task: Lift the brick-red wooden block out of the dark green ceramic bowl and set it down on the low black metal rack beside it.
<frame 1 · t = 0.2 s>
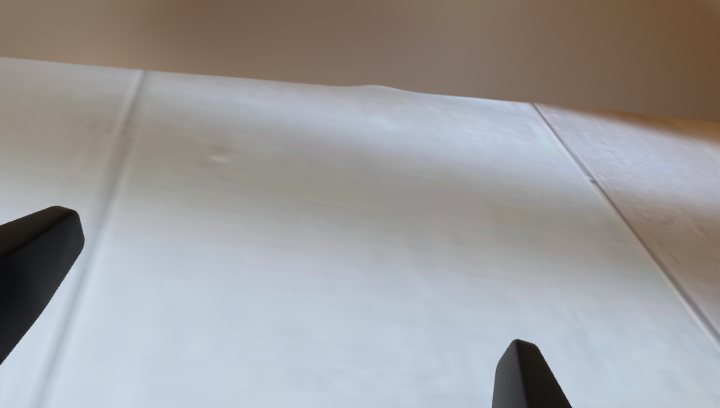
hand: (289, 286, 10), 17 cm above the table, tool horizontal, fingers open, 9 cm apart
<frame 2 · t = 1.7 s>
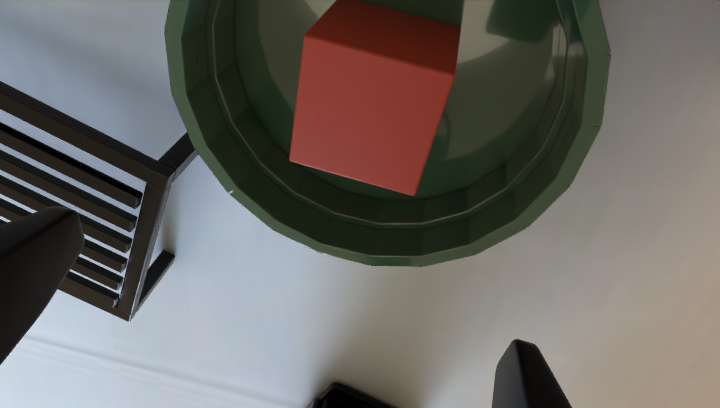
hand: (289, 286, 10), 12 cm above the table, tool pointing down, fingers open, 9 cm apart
block: (386, 69, 19), resting on bowl
rack: (68, 139, 25), on the table
bowl: (388, 64, 19), on the table
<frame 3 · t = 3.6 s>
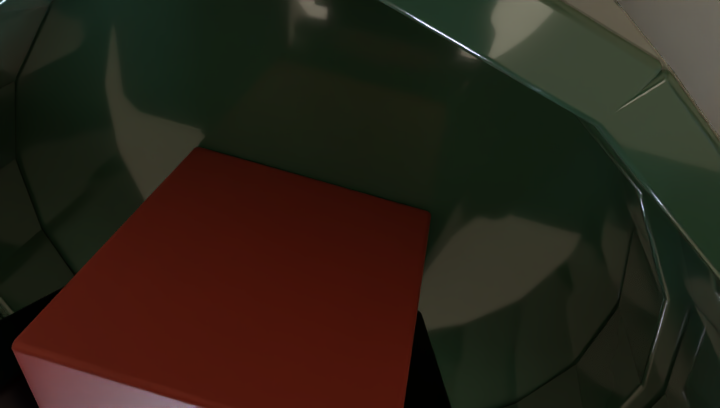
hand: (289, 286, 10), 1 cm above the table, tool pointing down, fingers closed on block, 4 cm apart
block: (299, 261, 10), point 1 cm above the table, touching bowl, gripper
bowl: (307, 245, 11), on the table
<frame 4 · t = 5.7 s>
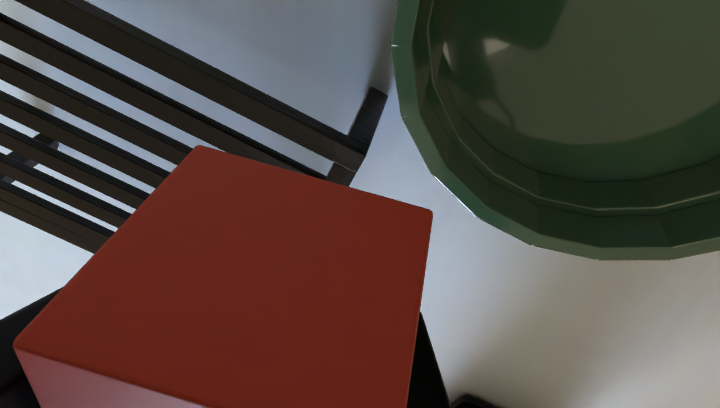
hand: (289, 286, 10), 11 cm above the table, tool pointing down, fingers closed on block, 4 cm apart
block: (300, 260, 10), point 10 cm above the table, touching gripper
rack: (194, 121, 21), on the table
bowl: (632, 10, 15), on the table
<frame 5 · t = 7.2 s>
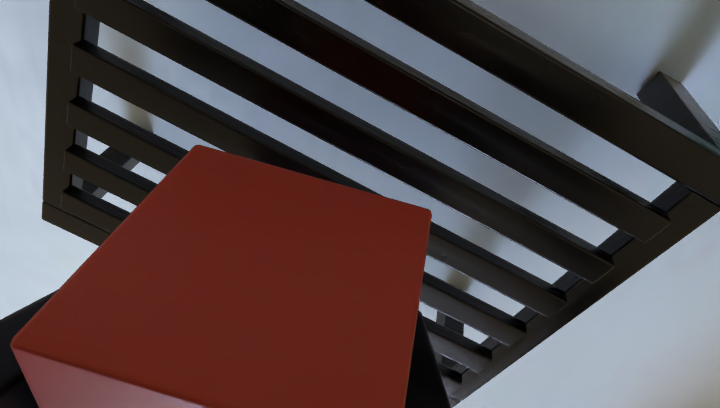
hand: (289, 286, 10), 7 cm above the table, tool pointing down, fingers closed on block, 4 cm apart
block: (299, 259, 10), point 7 cm above the table, touching gripper
rack: (360, 118, 15), on the table
when the fingers open (6 cm above the table, at t = 8.1 s): block stays where it is, resting on rack.
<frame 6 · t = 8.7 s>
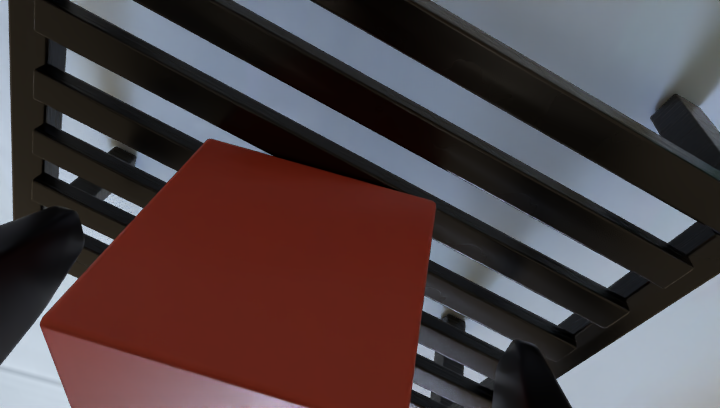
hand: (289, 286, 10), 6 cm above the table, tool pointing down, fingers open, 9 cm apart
block: (307, 251, 10), point 5 cm above the table, touching rack
rack: (354, 139, 14), on the table
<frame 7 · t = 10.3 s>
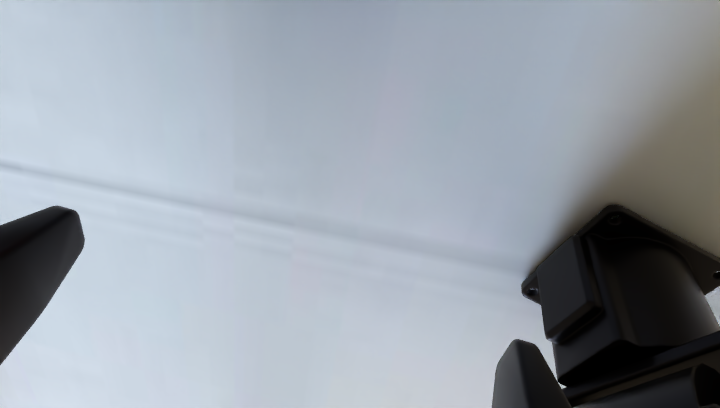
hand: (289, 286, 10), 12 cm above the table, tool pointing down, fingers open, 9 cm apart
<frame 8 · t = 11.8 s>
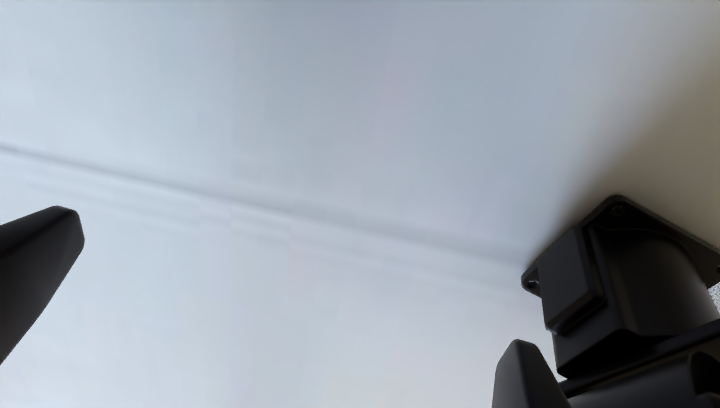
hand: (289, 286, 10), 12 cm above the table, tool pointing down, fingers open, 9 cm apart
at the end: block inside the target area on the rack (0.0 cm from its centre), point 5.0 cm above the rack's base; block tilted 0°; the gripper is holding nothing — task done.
